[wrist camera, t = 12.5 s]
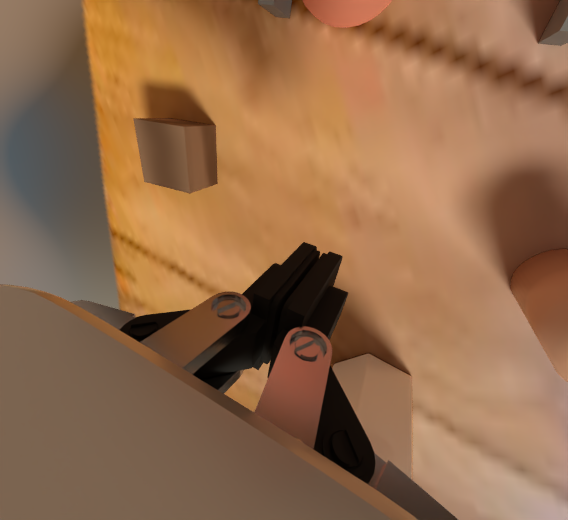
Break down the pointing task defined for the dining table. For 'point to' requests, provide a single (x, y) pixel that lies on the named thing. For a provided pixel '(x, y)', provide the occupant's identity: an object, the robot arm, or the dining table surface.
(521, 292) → the beige rounded cylinder
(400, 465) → the jar
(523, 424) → the dining table surface
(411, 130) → the dining table surface
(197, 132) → the metal block
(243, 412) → the robot arm
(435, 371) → the dining table surface
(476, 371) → the dining table surface
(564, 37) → the corral
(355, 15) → the pottery
